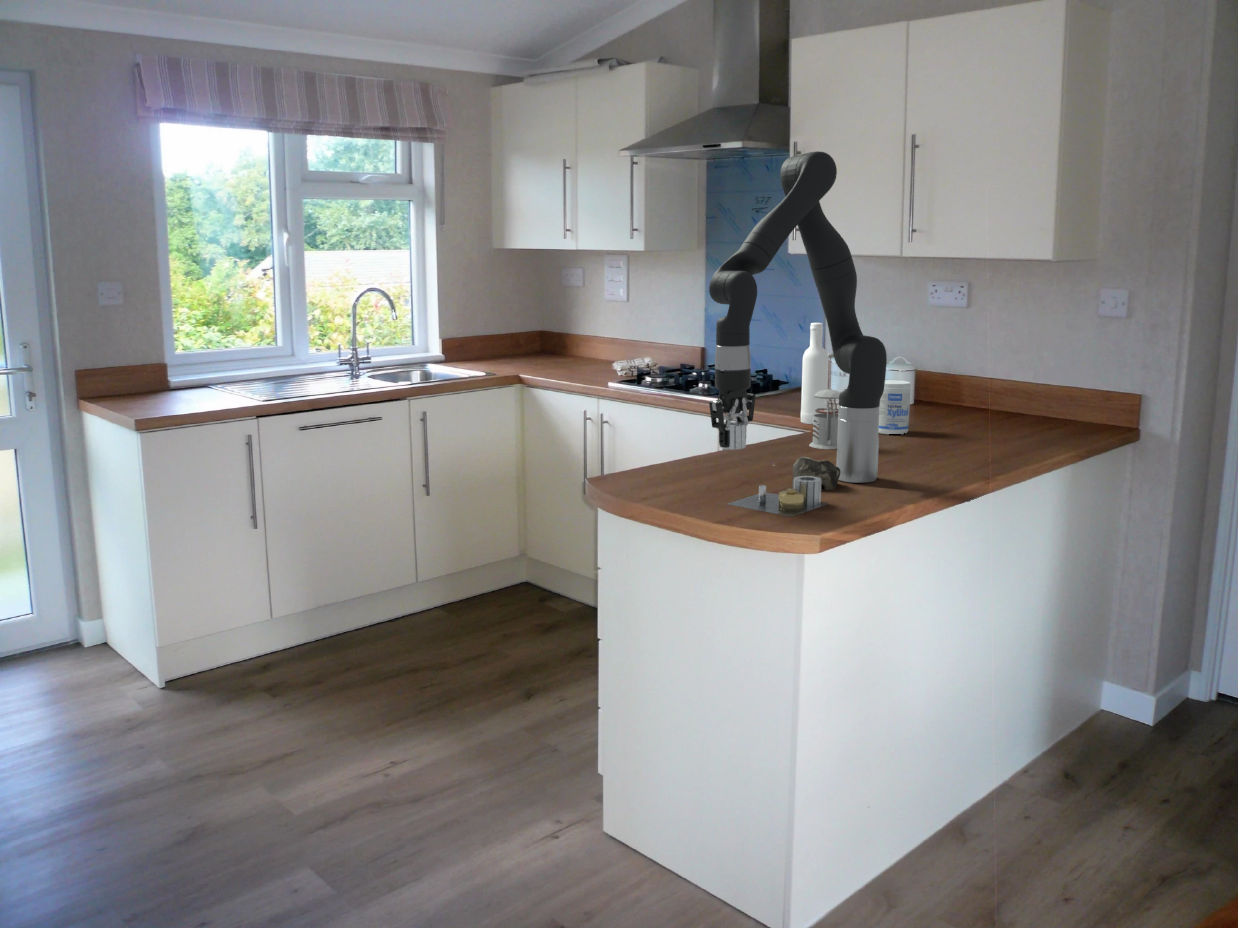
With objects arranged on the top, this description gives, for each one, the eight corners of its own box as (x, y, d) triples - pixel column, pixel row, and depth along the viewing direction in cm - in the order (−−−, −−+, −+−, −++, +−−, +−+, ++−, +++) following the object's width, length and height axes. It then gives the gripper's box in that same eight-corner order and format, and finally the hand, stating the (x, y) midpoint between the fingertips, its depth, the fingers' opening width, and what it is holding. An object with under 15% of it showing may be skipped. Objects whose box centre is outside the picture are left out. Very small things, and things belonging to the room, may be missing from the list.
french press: (843, 442, 295) (847, 351, 290) (848, 450, 284) (852, 355, 279) (807, 442, 296) (810, 351, 291) (810, 450, 285) (813, 355, 280)
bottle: (811, 419, 333) (815, 321, 327) (832, 422, 327) (835, 323, 321) (794, 422, 328) (797, 323, 322) (815, 425, 322) (818, 324, 316)
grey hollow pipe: (797, 498, 227) (798, 475, 226) (823, 500, 225) (824, 477, 224) (789, 503, 222) (790, 480, 221) (815, 506, 220) (816, 482, 219)
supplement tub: (889, 436, 304) (892, 384, 301) (867, 431, 312) (869, 380, 309) (915, 433, 308) (918, 382, 305) (892, 428, 316) (895, 378, 313)
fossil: (834, 482, 245) (841, 448, 238) (840, 509, 238) (848, 474, 231) (786, 481, 245) (792, 446, 238) (791, 508, 238) (797, 473, 231)
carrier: (763, 497, 233) (764, 474, 232) (828, 509, 223) (829, 485, 222) (725, 509, 223) (725, 485, 222) (791, 522, 212) (792, 497, 211)
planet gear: (729, 443, 235) (729, 420, 234) (750, 446, 232) (750, 423, 231) (714, 447, 231) (714, 424, 230) (735, 450, 228) (735, 427, 227)
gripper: (737, 361, 236) (737, 437, 239) (698, 368, 225) (698, 448, 229) (766, 363, 231) (766, 441, 234) (727, 371, 220) (727, 452, 224)
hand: (732, 444), depth 231 cm, fingers closed on planet gear, 5 cm apart
